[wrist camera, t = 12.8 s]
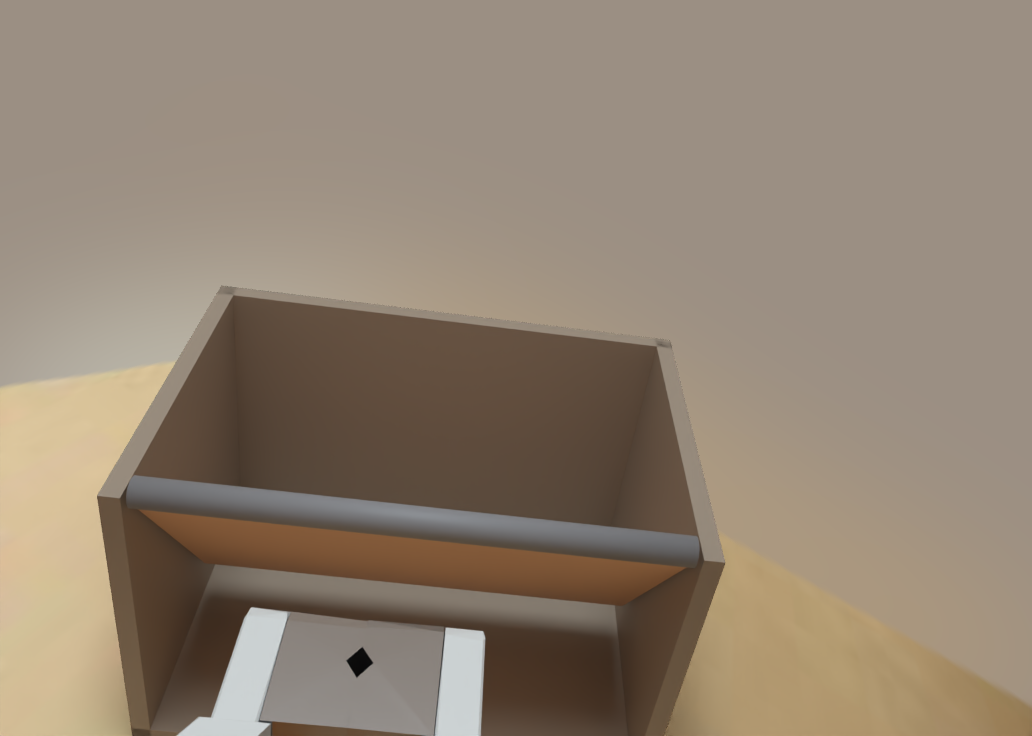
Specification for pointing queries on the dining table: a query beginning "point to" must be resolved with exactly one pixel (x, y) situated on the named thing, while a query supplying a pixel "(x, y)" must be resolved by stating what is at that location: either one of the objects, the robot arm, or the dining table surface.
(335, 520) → the flap
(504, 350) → the open carton
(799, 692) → the dining table surface
